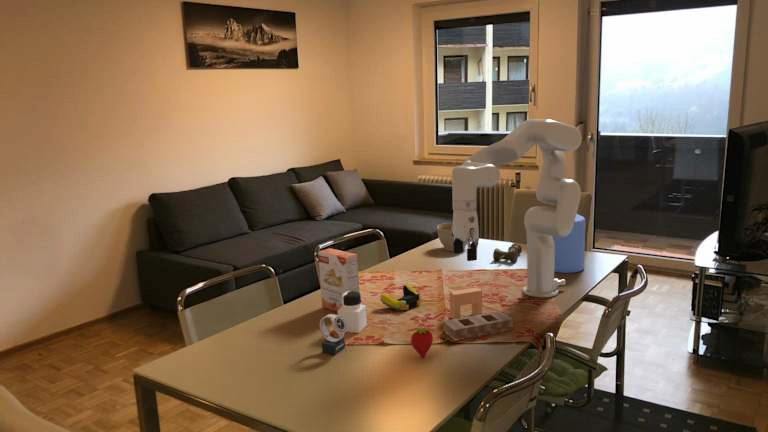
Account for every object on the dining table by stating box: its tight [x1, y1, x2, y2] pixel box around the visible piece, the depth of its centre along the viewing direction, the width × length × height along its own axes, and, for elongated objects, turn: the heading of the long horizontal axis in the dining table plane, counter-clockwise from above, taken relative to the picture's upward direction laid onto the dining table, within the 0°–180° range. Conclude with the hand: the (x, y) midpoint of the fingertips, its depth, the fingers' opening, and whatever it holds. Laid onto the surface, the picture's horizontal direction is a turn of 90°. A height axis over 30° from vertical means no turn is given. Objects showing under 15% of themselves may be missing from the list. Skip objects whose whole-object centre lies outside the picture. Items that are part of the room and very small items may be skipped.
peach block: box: [449, 287, 483, 320], centre depth 204 cm, size 10×4×9 cm, turn 109°
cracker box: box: [317, 247, 360, 313], centre depth 214 cm, size 14×6×21 cm, turn 47°
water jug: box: [552, 213, 586, 274], centre depth 249 cm, size 16×16×28 cm
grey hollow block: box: [442, 310, 514, 339], centre depth 192 cm, size 20×8×4 cm, turn 109°
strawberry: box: [410, 326, 433, 358], centre depth 175 cm, size 6×8×10 cm
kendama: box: [492, 243, 523, 264], centre depth 267 cm, size 6×10×20 cm
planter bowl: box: [436, 222, 467, 252], centre depth 287 cm, size 16×16×11 cm
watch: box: [319, 313, 347, 356], centre depth 182 cm, size 6×8×11 cm
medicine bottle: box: [337, 291, 368, 334], centre depth 198 cm, size 7×7×12 cm
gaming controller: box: [380, 284, 423, 312], centre depth 217 cm, size 15×6×10 cm
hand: (464, 256), depth 200 cm, fingers open, 9 cm apart
